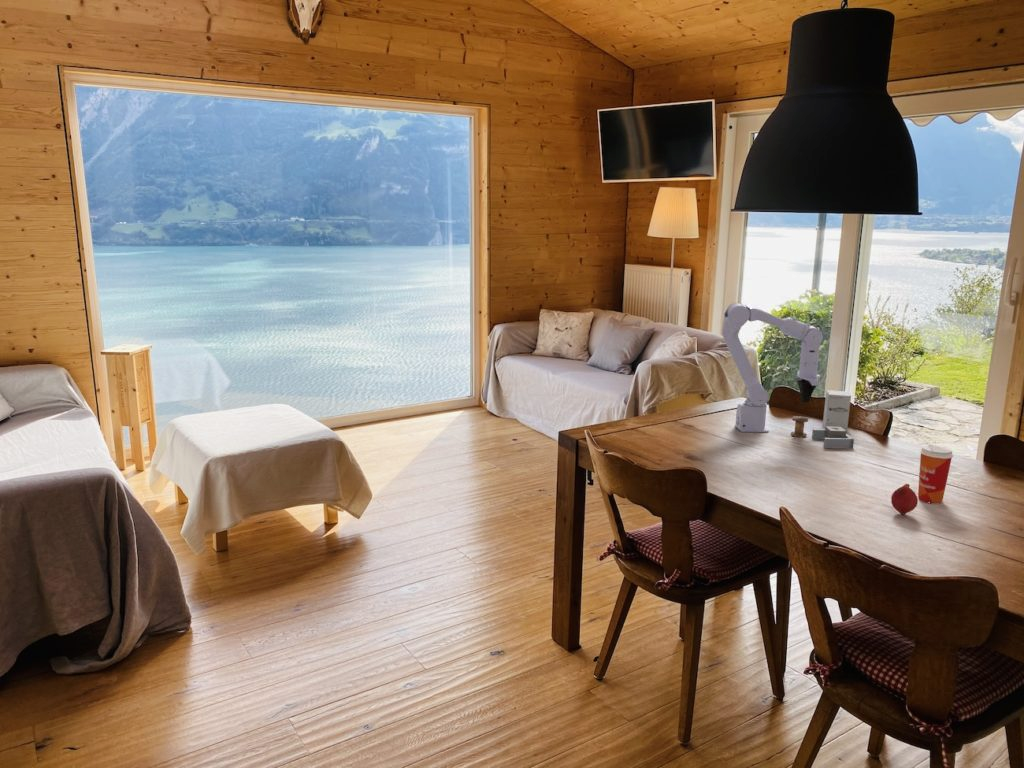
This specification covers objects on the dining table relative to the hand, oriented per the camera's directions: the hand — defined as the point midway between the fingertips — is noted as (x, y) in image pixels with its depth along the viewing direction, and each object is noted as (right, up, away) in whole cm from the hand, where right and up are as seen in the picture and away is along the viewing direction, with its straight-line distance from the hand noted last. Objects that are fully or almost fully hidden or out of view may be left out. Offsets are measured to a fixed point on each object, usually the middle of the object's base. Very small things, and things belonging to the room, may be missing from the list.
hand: (805, 401), depth 260 cm
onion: (-2, -27, -69) cm, 74 cm away
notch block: (+5, -13, -10) cm, 17 cm away
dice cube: (+5, -13, -11) cm, 18 cm away
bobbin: (-3, -11, -3) cm, 12 cm away
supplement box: (+13, -9, +7) cm, 18 cm away
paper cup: (+10, -24, -59) cm, 65 cm away
